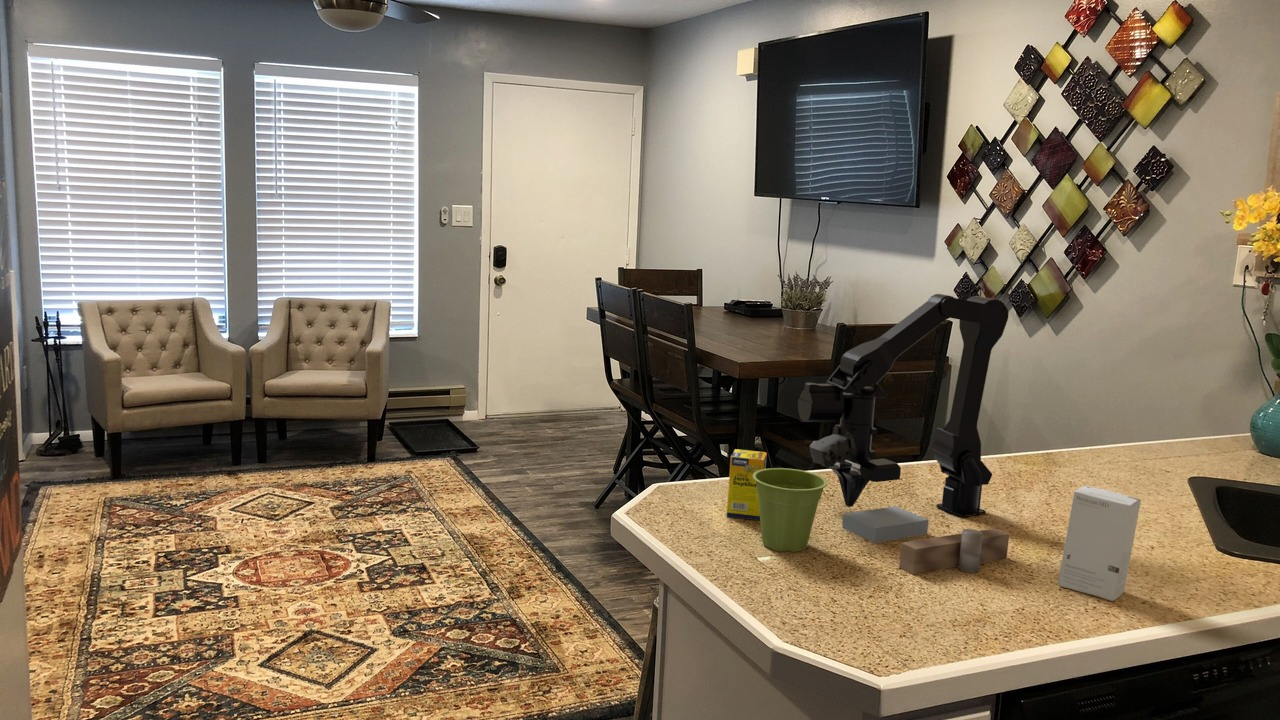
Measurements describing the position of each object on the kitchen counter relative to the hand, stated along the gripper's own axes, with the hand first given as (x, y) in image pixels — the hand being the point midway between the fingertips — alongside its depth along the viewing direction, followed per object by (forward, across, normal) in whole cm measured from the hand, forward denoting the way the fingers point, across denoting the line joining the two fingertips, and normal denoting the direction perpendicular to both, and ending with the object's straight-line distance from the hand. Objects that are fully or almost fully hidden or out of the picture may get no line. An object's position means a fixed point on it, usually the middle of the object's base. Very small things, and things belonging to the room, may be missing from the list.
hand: (849, 506), depth 178 cm
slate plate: (+2, +10, 0) cm, 10 cm away
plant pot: (+2, +10, -21) cm, 23 cm away
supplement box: (+2, -6, -18) cm, 19 cm away
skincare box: (+2, +42, +12) cm, 43 cm away
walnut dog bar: (+1, +27, 0) cm, 27 cm away
